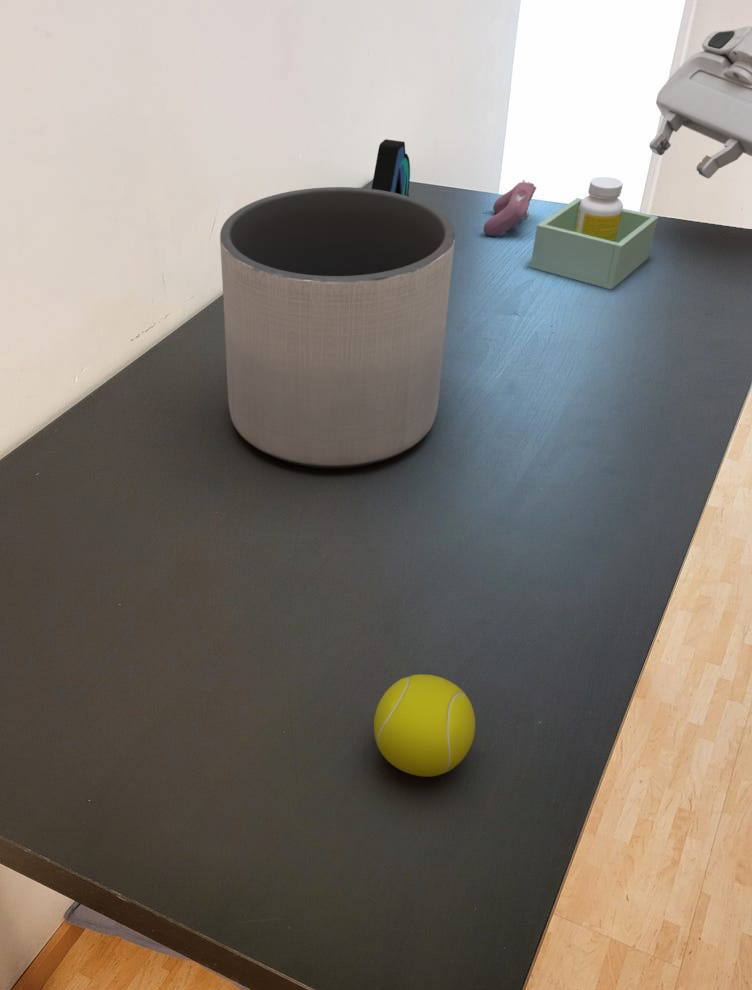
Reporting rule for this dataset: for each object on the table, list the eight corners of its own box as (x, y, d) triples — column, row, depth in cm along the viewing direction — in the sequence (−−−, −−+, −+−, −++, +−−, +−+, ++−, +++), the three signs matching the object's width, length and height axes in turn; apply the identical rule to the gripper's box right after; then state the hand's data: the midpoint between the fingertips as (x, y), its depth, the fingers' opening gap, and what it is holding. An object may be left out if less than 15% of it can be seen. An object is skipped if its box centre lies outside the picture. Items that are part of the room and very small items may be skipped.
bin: (647, 258, 127) (658, 216, 123) (611, 289, 121) (621, 246, 117) (568, 238, 132) (577, 197, 128) (529, 267, 126) (537, 225, 122)
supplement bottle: (618, 263, 125) (637, 186, 118) (582, 269, 124) (598, 192, 117) (597, 247, 128) (614, 172, 121) (561, 253, 127) (576, 177, 120)
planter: (254, 359, 110) (246, 179, 96) (443, 374, 106) (465, 190, 92) (207, 466, 95) (190, 272, 81) (426, 488, 91) (448, 289, 77)
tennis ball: (358, 776, 67) (362, 713, 62) (389, 708, 72) (395, 643, 67) (453, 808, 65) (465, 745, 60) (479, 735, 69) (492, 671, 64)
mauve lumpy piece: (506, 250, 134) (536, 207, 128) (479, 232, 133) (508, 188, 128) (516, 224, 140) (545, 182, 135) (491, 207, 140) (519, 164, 134)
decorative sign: (368, 289, 122) (375, 167, 112) (351, 286, 123) (355, 164, 113) (416, 235, 134) (426, 120, 124) (400, 232, 135) (408, 118, 125)
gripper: (835, 106, 111) (741, 204, 116) (719, 64, 125) (639, 154, 129) (820, 68, 107) (723, 172, 112) (701, 29, 121) (619, 123, 125)
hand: (677, 162), depth 121 cm, fingers open, 8 cm apart
